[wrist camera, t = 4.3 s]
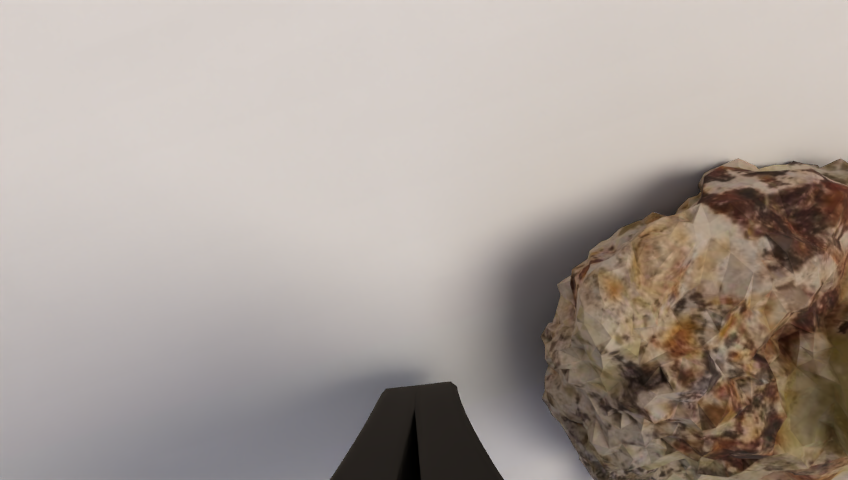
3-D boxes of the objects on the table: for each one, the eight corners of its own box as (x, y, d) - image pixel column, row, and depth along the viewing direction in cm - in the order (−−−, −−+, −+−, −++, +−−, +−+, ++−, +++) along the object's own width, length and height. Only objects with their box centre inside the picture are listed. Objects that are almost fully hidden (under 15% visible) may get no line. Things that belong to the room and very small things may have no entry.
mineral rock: (476, 585, 8) (767, 184, 4) (466, 384, 12) (612, 62, 8) (998, 666, 9) (1675, 423, 5) (843, 459, 13) (1156, 216, 9)
